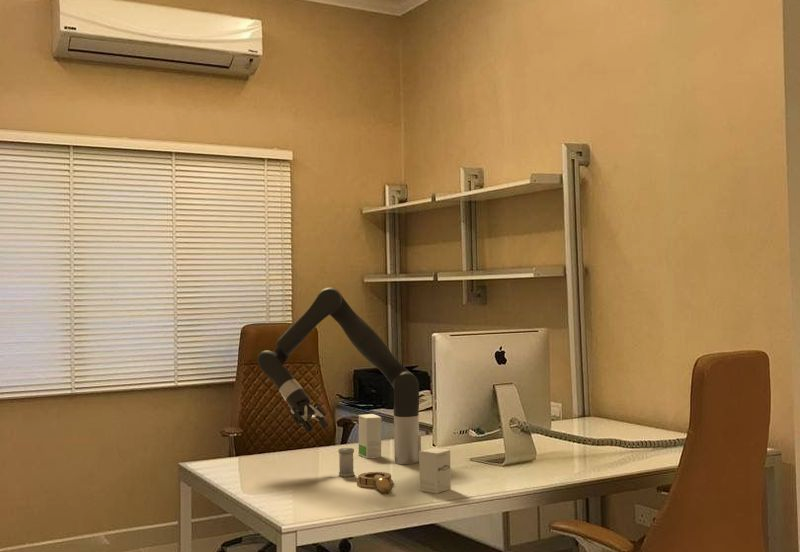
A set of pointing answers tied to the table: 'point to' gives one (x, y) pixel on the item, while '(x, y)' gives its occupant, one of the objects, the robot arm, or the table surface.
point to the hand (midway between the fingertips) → (319, 429)
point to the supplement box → (434, 470)
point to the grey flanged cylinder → (346, 462)
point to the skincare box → (370, 435)
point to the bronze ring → (376, 481)
